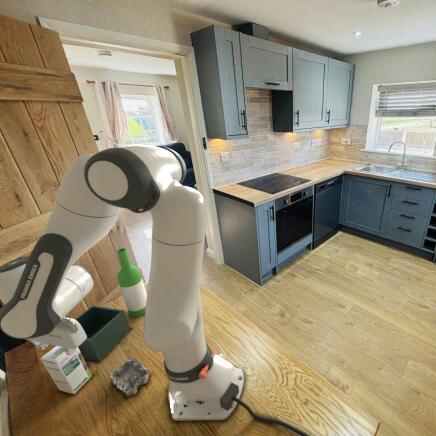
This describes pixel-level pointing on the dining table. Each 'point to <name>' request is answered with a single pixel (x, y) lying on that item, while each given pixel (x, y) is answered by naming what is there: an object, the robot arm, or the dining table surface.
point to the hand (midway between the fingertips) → (57, 350)
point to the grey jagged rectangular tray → (130, 376)
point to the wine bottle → (131, 285)
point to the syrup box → (66, 369)
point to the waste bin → (101, 331)
